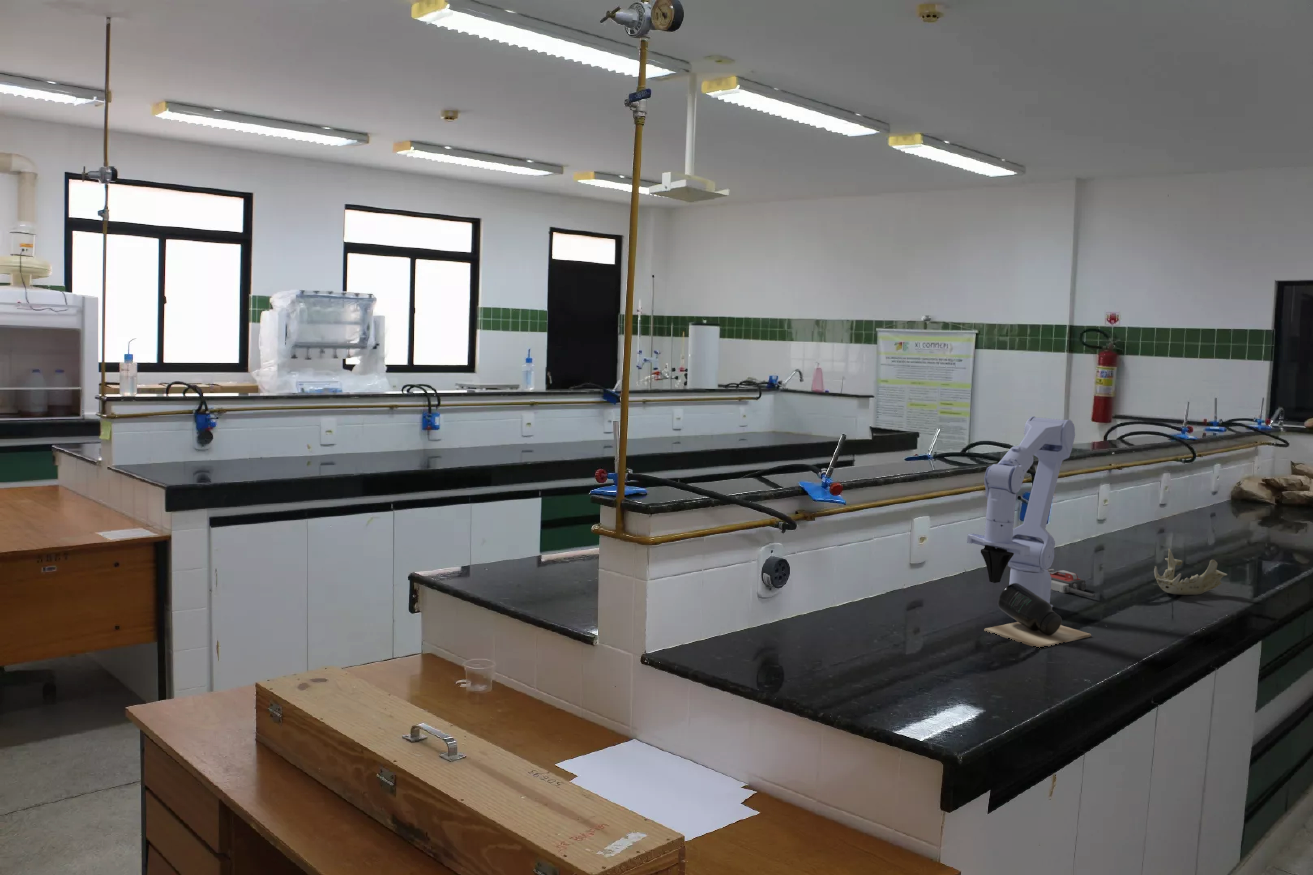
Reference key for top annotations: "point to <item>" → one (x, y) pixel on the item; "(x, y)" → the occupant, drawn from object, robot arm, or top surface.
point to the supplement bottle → (1029, 609)
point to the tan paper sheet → (1036, 634)
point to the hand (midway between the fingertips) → (994, 581)
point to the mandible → (1191, 585)
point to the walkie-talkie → (1068, 583)
